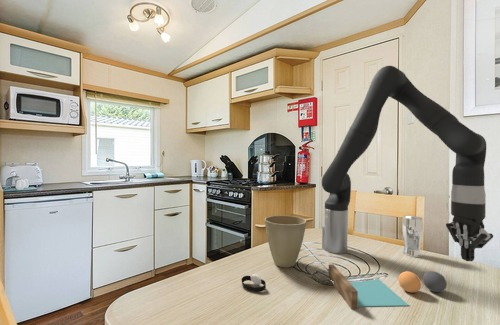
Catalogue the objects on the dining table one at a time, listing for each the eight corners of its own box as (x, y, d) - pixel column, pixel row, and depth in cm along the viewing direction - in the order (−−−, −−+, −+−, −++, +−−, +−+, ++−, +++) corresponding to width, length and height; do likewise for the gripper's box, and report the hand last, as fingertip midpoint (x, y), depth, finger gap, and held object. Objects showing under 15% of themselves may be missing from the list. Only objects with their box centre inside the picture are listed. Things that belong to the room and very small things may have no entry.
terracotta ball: (395, 290, 72) (395, 271, 72) (402, 284, 75) (402, 266, 75) (417, 298, 68) (417, 278, 67) (423, 292, 71) (423, 273, 71)
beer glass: (426, 258, 96) (426, 220, 95) (406, 257, 97) (406, 218, 97) (417, 252, 102) (418, 216, 102) (399, 250, 104) (399, 215, 104)
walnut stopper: (357, 309, 62) (357, 291, 62) (351, 309, 62) (351, 291, 62) (333, 278, 78) (333, 264, 78) (328, 278, 78) (328, 264, 78)
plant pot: (314, 267, 86) (315, 222, 86) (278, 275, 80) (279, 226, 80) (289, 252, 100) (290, 213, 100) (256, 259, 93) (257, 216, 93)
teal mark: (356, 306, 63) (356, 305, 63) (335, 280, 77) (335, 279, 77) (409, 305, 64) (409, 305, 64) (378, 279, 78) (378, 279, 78)
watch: (268, 288, 73) (268, 275, 73) (261, 295, 68) (261, 282, 68) (246, 281, 76) (246, 269, 76) (237, 288, 72) (238, 275, 72)
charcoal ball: (420, 290, 72) (420, 271, 72) (426, 284, 76) (426, 266, 76) (443, 298, 68) (443, 278, 68) (448, 291, 71) (449, 272, 71)
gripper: (504, 204, 65) (504, 270, 65) (459, 197, 79) (459, 251, 79) (477, 204, 65) (476, 270, 65) (437, 197, 78) (436, 252, 78)
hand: (467, 260), depth 72 cm, fingers closed
